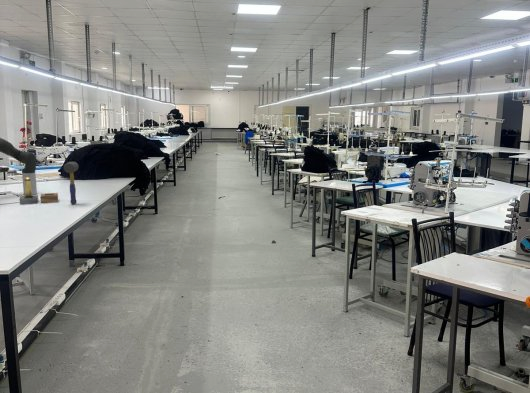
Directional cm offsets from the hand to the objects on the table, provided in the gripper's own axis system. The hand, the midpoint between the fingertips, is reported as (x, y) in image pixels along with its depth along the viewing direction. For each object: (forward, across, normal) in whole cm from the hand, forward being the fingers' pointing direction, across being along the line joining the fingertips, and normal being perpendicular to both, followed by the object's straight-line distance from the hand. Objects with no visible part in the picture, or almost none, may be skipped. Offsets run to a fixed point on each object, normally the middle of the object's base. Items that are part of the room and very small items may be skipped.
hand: (8, 169), depth 298 cm
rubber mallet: (+40, -18, +24) cm, 50 cm away
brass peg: (+11, 0, +24) cm, 27 cm away
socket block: (+11, 0, +24) cm, 26 cm away
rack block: (+24, 0, +24) cm, 34 cm away
